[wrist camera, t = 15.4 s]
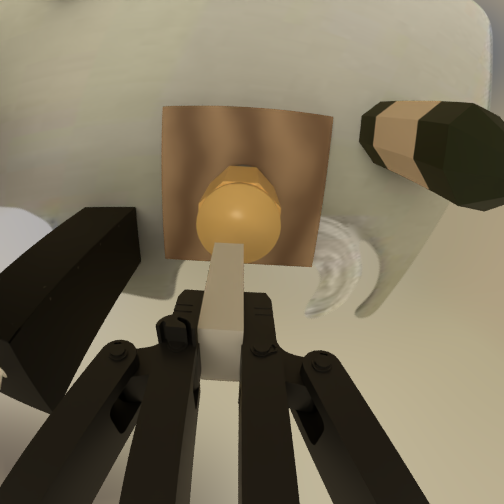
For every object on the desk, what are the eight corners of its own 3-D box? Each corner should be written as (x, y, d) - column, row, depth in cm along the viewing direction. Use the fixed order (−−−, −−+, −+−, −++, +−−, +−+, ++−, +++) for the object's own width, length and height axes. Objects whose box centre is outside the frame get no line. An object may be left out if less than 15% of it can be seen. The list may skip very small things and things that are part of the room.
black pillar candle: (141, 262, 37) (42, 449, 12) (93, 258, 37) (-21, 414, 12) (136, 206, 34) (-17, 380, 9) (84, 206, 33) (-71, 345, 8)
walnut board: (169, 251, 36) (165, 258, 35) (167, 107, 29) (162, 106, 27) (308, 259, 37) (311, 267, 35) (328, 116, 29) (333, 116, 27)
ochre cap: (209, 224, 30) (196, 261, 22) (210, 164, 27) (196, 183, 20) (269, 228, 30) (276, 266, 23) (275, 168, 27) (285, 188, 20)
